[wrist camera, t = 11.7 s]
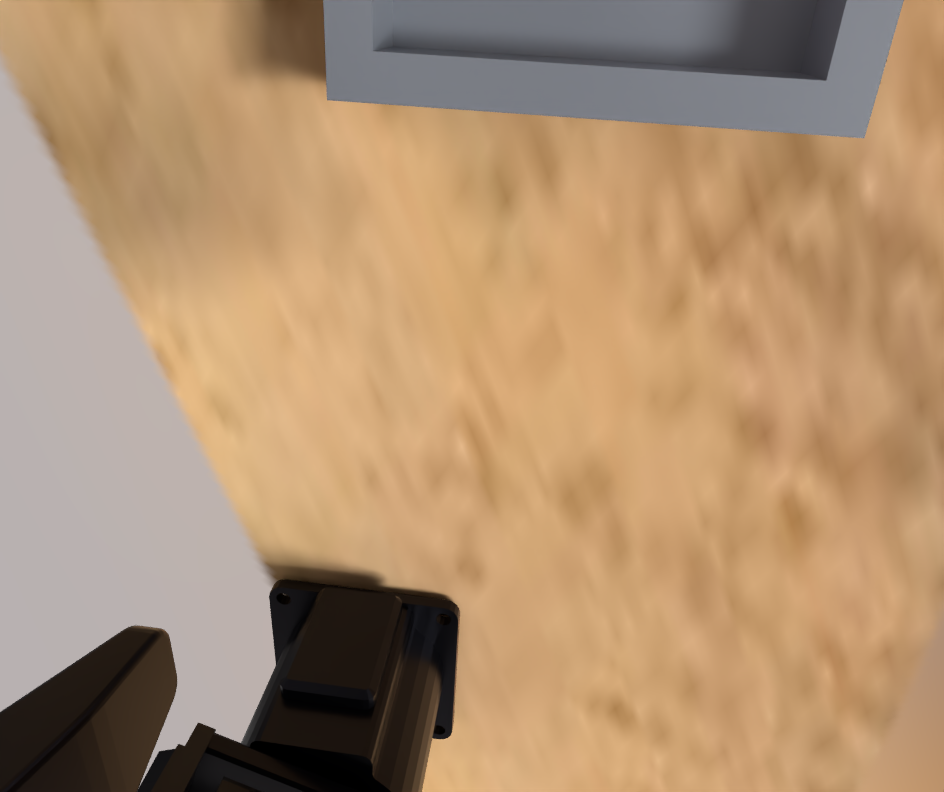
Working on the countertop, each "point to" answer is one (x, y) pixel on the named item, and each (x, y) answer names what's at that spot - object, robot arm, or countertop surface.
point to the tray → (620, 59)
